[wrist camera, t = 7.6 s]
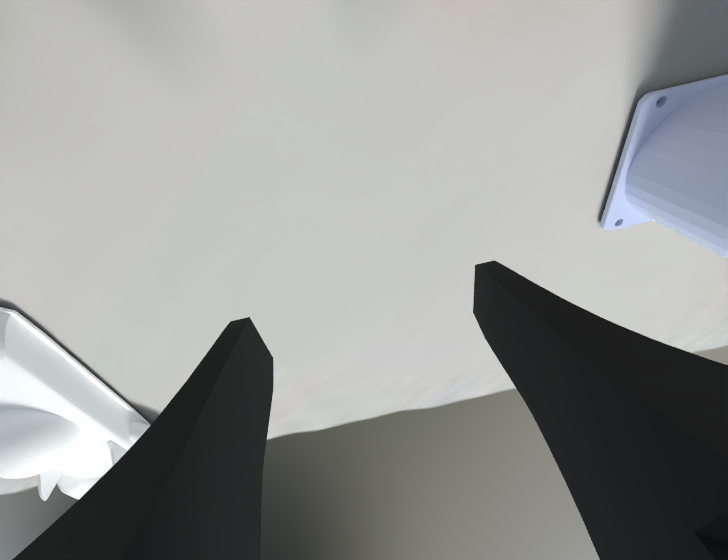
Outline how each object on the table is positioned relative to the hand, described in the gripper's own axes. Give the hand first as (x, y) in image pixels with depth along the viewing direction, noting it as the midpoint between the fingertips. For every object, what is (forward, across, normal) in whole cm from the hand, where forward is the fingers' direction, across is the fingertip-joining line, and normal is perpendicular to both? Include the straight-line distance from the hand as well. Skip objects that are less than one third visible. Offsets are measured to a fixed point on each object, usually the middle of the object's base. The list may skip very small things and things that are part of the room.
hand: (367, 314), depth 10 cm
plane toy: (+10, +24, +10) cm, 28 cm away
